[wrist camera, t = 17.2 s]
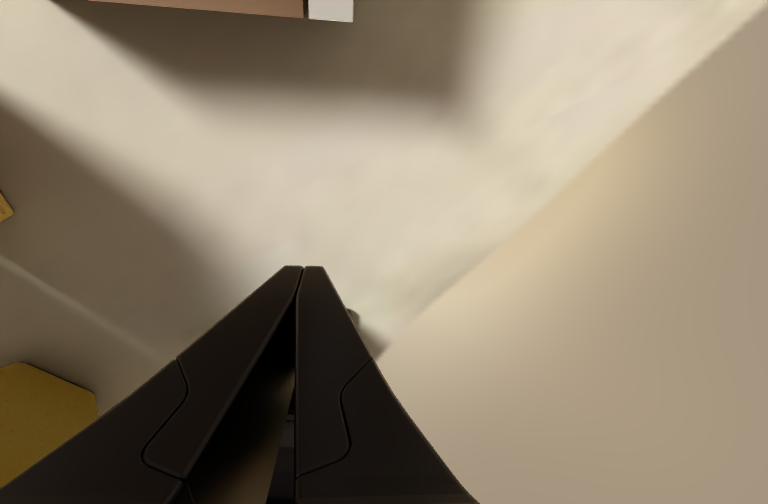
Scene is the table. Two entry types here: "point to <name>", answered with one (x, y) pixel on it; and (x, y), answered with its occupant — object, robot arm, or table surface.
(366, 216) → the table surface
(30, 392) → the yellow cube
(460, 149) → the table surface
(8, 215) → the candy box
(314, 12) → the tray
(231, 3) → the box
